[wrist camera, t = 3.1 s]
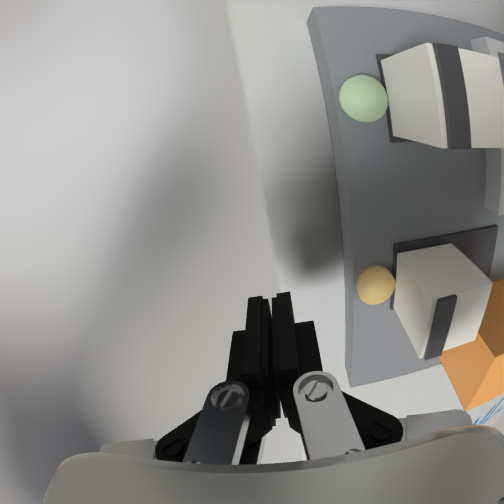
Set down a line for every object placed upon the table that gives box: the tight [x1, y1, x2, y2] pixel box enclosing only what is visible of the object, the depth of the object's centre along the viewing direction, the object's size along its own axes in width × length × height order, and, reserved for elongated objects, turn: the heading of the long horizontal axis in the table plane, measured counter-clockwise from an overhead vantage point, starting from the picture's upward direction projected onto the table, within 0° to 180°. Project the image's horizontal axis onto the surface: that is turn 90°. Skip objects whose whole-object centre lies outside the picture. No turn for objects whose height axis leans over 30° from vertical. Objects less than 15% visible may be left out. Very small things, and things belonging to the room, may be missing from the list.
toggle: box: [381, 43, 504, 149], centre depth 7 cm, size 3×3×4 cm
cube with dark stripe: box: [393, 243, 493, 361], centre depth 10 cm, size 3×3×4 cm
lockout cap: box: [438, 279, 504, 412], centre depth 11 cm, size 4×4×5 cm
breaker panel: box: [307, 7, 504, 387], centre depth 11 cm, size 20×16×3 cm
